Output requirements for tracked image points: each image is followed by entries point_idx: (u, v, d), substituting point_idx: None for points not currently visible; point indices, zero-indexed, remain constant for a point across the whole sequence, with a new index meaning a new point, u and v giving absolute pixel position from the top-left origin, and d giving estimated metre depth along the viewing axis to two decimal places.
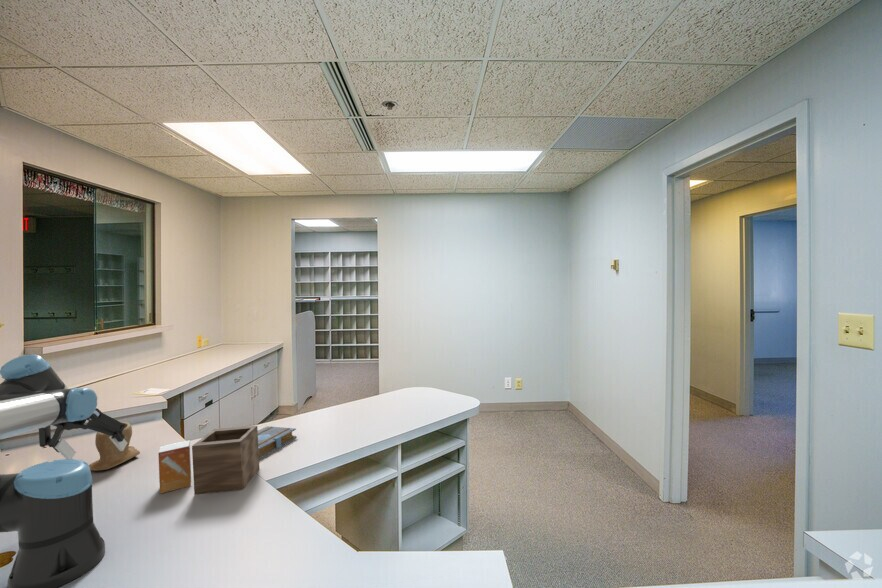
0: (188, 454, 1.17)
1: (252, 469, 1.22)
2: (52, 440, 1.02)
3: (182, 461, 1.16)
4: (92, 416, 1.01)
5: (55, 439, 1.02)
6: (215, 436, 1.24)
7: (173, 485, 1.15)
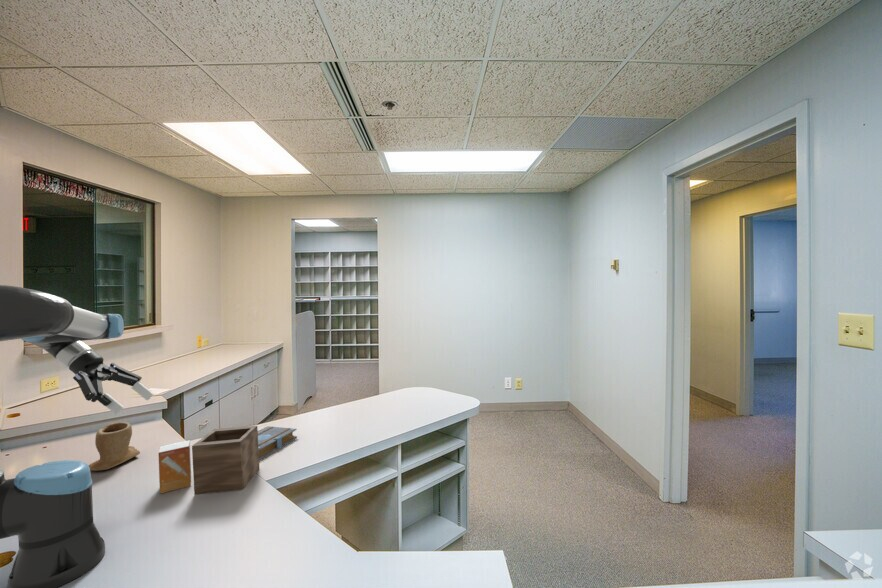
0: (188, 454, 1.17)
1: (252, 469, 1.22)
2: (99, 387, 1.09)
3: (182, 461, 1.16)
4: (114, 363, 1.22)
5: (100, 385, 1.10)
6: (215, 436, 1.24)
7: (173, 485, 1.15)
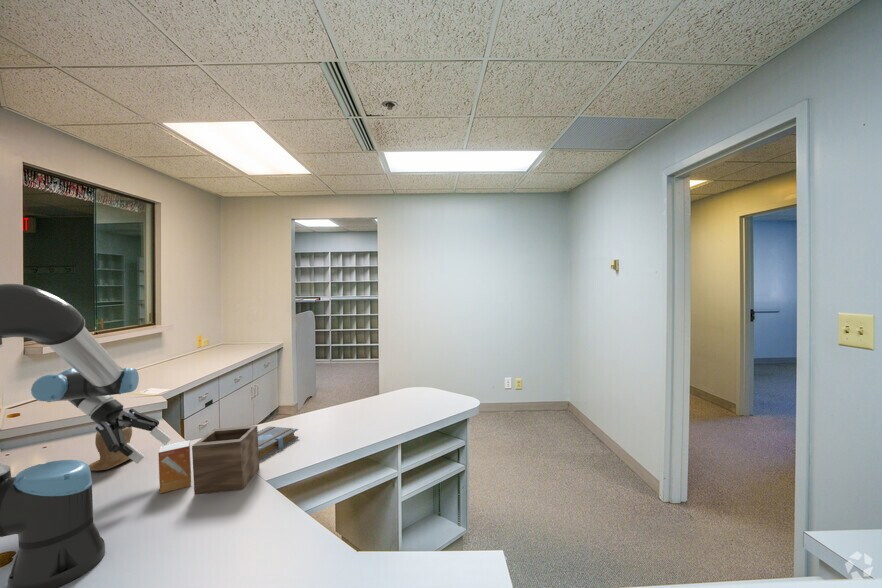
0: (188, 454, 1.17)
1: (252, 469, 1.22)
2: (120, 437, 1.11)
3: (182, 461, 1.16)
4: (133, 409, 1.24)
5: (122, 435, 1.12)
6: (215, 436, 1.24)
7: (173, 485, 1.15)
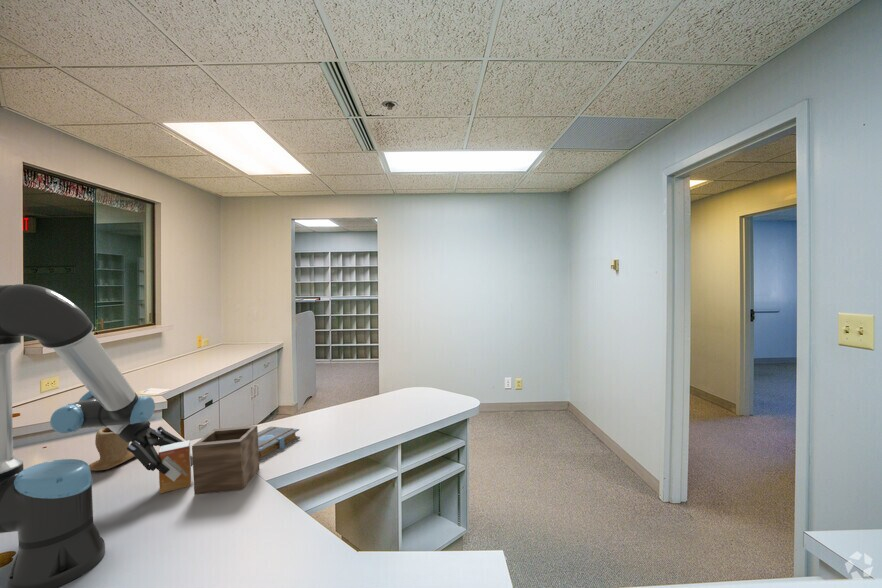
0: (188, 454, 1.17)
1: (252, 469, 1.22)
2: (155, 455, 1.13)
3: (182, 461, 1.16)
4: (161, 427, 1.23)
5: (156, 453, 1.13)
6: (215, 436, 1.24)
7: (173, 485, 1.15)
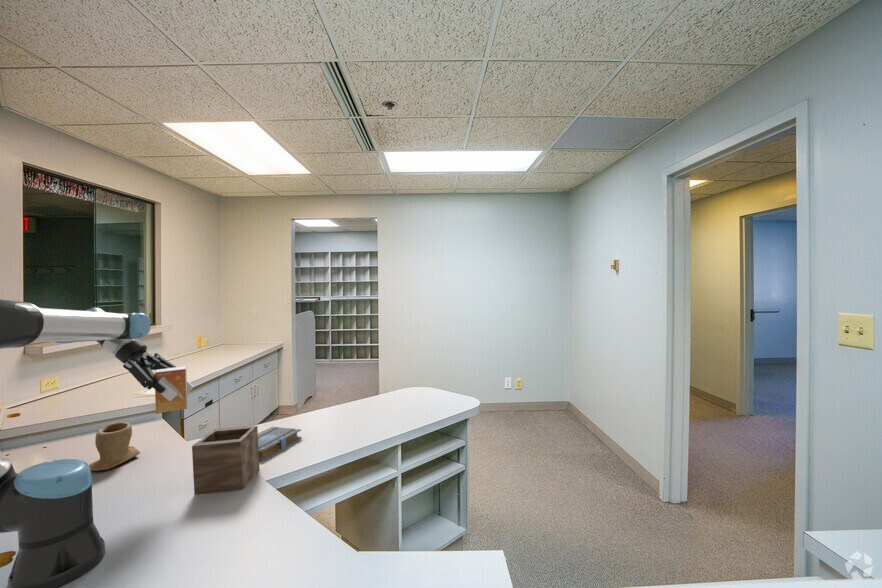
0: (184, 377, 1.17)
1: (252, 469, 1.22)
2: (151, 374, 1.13)
3: (178, 384, 1.16)
4: (158, 354, 1.23)
5: (152, 373, 1.13)
6: (215, 436, 1.24)
7: (169, 406, 1.15)
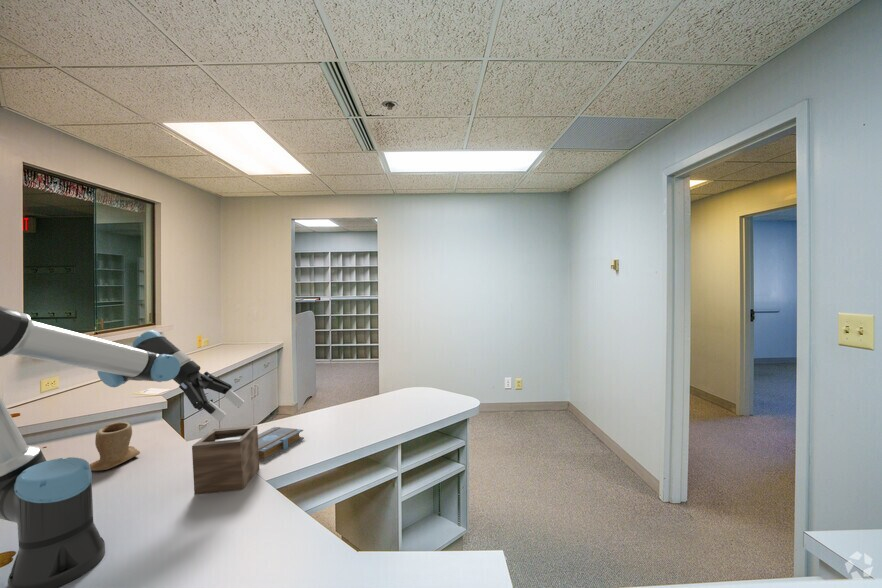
0: None
1: (252, 469, 1.22)
2: (203, 395, 1.13)
3: None
4: (207, 372, 1.25)
5: (204, 394, 1.14)
6: (215, 436, 1.24)
7: None
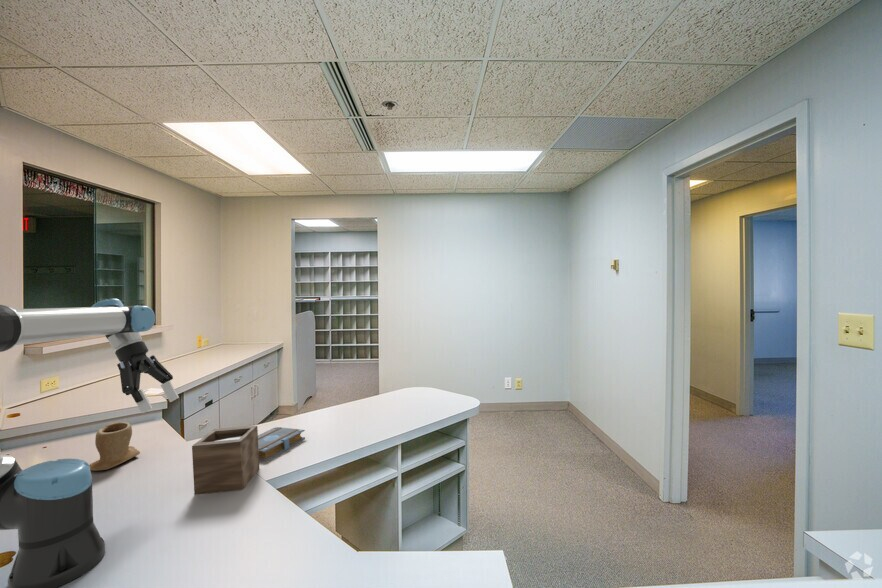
0: None
1: (252, 469, 1.22)
2: (137, 381, 1.09)
3: None
4: (154, 356, 1.21)
5: (138, 380, 1.10)
6: (215, 436, 1.24)
7: None
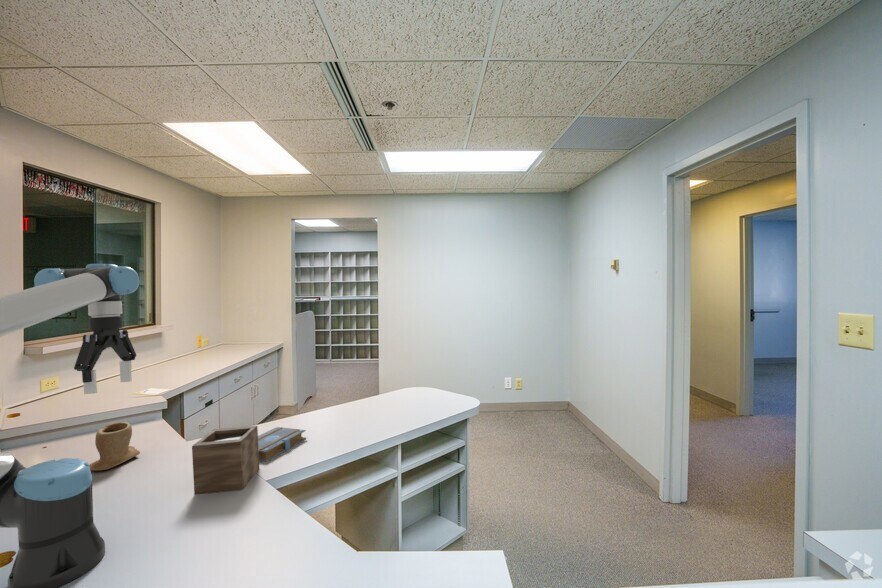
0: None
1: (252, 469, 1.22)
2: (94, 360, 1.03)
3: None
4: (127, 331, 1.16)
5: (97, 358, 1.04)
6: (215, 436, 1.24)
7: None
